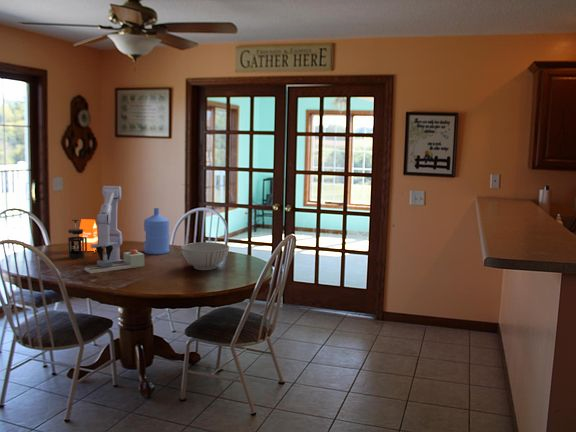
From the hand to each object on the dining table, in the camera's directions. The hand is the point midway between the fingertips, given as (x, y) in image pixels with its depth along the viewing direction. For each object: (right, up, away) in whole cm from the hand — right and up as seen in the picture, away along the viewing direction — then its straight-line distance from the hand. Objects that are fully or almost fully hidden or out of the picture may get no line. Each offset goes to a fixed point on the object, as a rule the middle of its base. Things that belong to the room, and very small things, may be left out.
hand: (104, 259), depth 309 cm
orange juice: (-26, +2, +49) cm, 55 cm away
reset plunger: (+13, +1, +11) cm, 17 cm away
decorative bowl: (+54, -5, +11) cm, 55 cm away
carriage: (0, -3, 0) cm, 3 cm away
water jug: (+17, +1, +49) cm, 52 cm away
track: (+5, -5, +5) cm, 8 cm away
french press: (-26, -1, +29) cm, 38 cm away
